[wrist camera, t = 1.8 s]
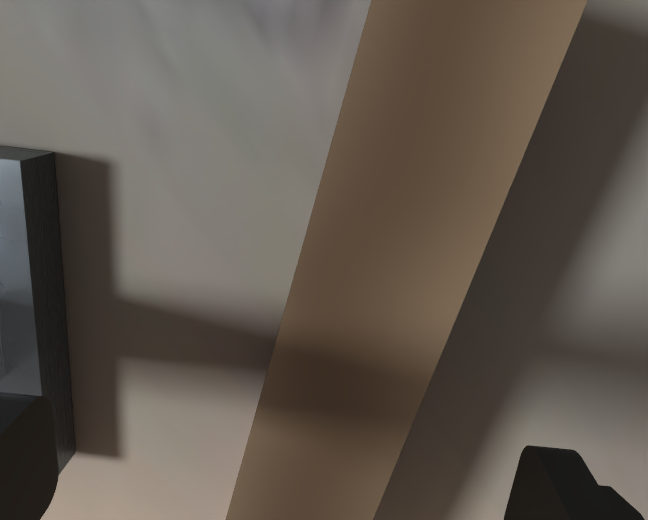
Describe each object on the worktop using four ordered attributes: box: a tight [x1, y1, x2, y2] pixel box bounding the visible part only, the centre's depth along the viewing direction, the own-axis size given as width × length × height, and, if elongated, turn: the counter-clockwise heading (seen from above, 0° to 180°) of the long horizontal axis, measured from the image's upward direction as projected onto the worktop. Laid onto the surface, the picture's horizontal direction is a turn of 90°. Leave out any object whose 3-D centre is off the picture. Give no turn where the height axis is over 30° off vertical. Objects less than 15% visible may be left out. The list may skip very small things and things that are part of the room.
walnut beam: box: [226, 0, 588, 520], centre depth 14 cm, size 4×22×4 cm, turn 165°
